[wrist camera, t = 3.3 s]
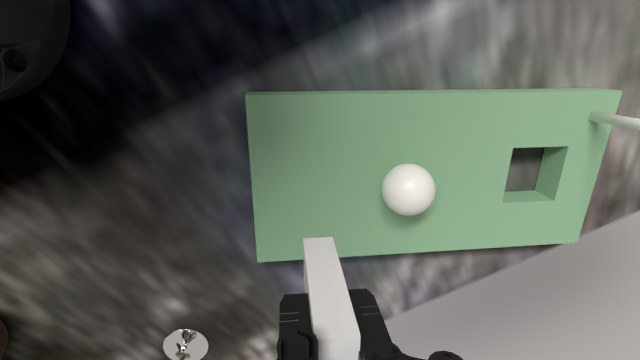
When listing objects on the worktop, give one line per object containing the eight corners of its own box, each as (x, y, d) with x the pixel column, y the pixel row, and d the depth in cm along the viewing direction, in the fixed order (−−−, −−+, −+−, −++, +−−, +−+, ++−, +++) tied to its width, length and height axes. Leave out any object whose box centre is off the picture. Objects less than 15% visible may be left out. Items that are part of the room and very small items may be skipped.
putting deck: (259, 247, 31) (246, 360, 20) (248, 91, 26) (222, 119, 15) (565, 229, 34) (712, 317, 23) (605, 88, 30) (818, 107, 18)
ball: (374, 203, 28) (388, 226, 24) (377, 157, 27) (392, 174, 23) (420, 201, 29) (441, 223, 25) (425, 156, 27) (448, 172, 23)
